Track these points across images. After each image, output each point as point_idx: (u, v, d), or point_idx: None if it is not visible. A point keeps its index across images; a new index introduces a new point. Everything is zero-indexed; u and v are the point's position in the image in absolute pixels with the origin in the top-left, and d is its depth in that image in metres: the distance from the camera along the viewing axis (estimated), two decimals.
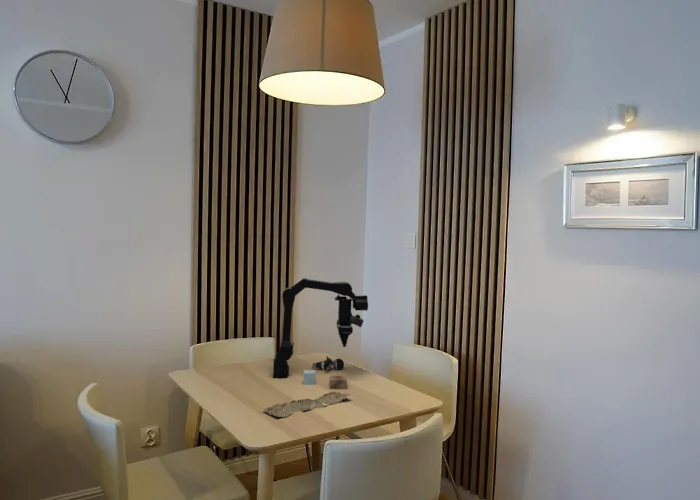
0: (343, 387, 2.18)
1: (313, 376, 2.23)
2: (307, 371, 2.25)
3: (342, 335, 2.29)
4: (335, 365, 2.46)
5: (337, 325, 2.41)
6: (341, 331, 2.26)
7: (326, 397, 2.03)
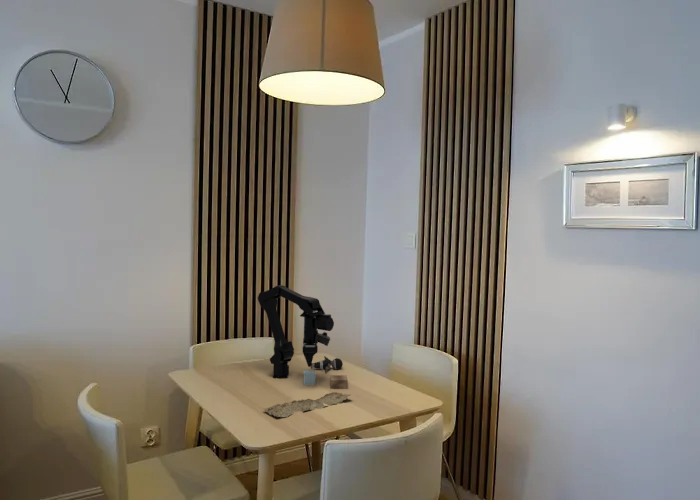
0: (344, 387, 2.18)
1: (313, 376, 2.23)
2: (307, 371, 2.25)
3: (307, 354, 2.18)
4: (334, 365, 2.46)
5: (303, 343, 2.30)
6: (305, 351, 2.15)
7: (327, 397, 2.03)
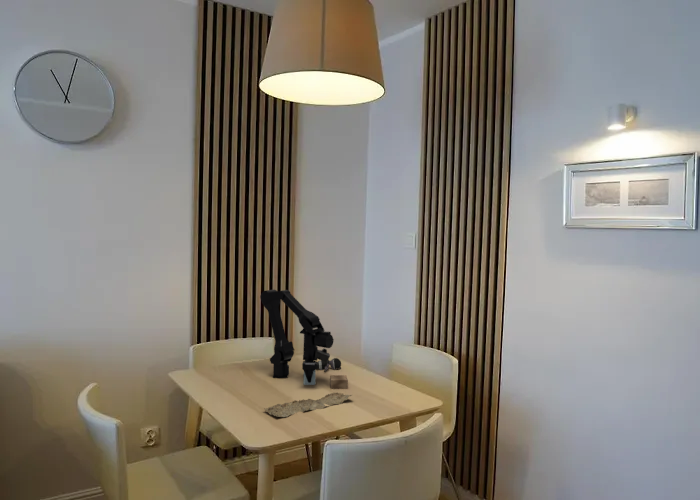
0: (344, 387, 2.18)
1: (313, 376, 2.23)
2: None
3: (307, 370, 2.21)
4: (333, 365, 2.46)
5: None
6: (305, 368, 2.15)
7: (328, 398, 2.02)
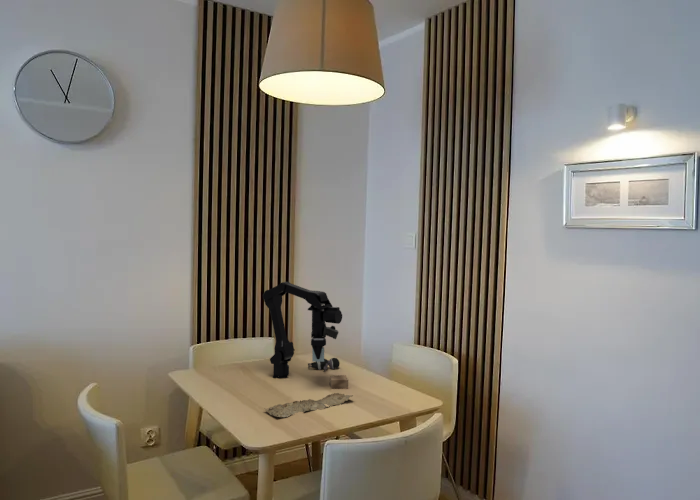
0: (344, 387, 2.18)
1: (322, 352, 2.21)
2: None
3: (315, 347, 2.19)
4: (331, 364, 2.47)
5: (311, 337, 2.29)
6: (314, 344, 2.14)
7: (329, 398, 2.02)
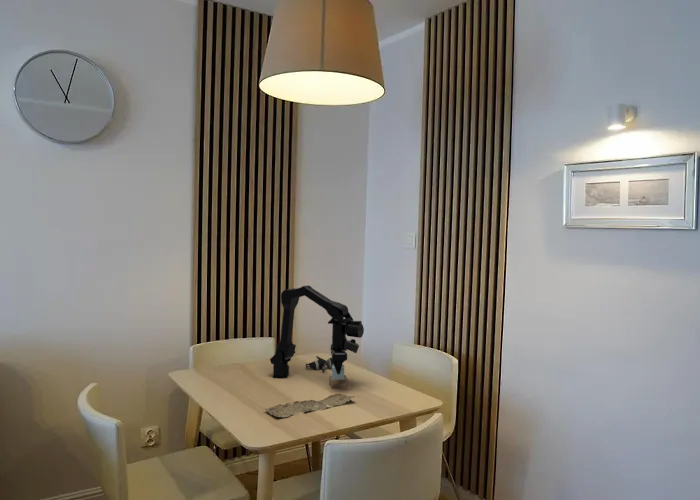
0: (345, 387, 2.18)
1: (342, 371, 2.18)
2: None
3: (336, 362, 2.15)
4: (329, 364, 2.47)
5: (331, 350, 2.26)
6: (335, 358, 2.11)
7: (330, 399, 2.01)
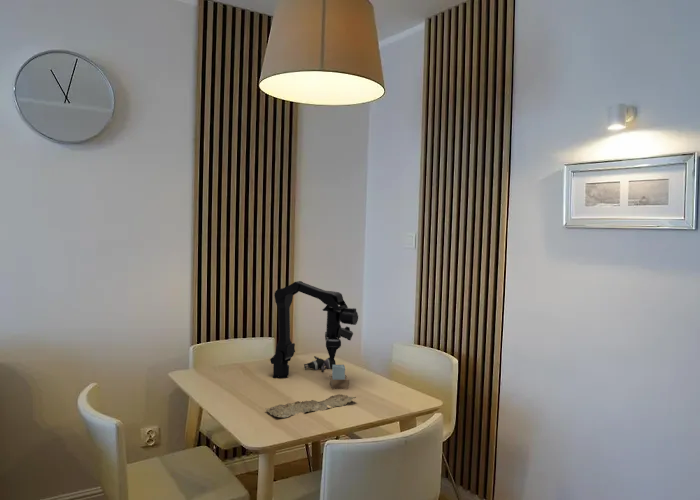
0: (345, 387, 2.18)
1: (342, 370, 2.19)
2: (336, 365, 2.21)
3: (330, 349, 2.16)
4: (328, 364, 2.47)
5: (325, 337, 2.28)
6: (329, 345, 2.13)
7: (332, 399, 2.01)
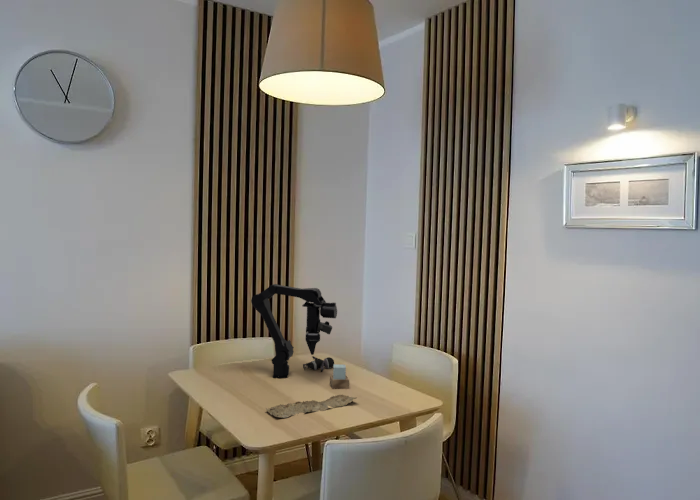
0: (345, 387, 2.19)
1: (343, 370, 2.19)
2: (337, 365, 2.21)
3: (310, 343, 2.24)
4: (327, 364, 2.47)
5: (306, 332, 2.36)
6: (308, 339, 2.21)
7: (332, 400, 2.00)
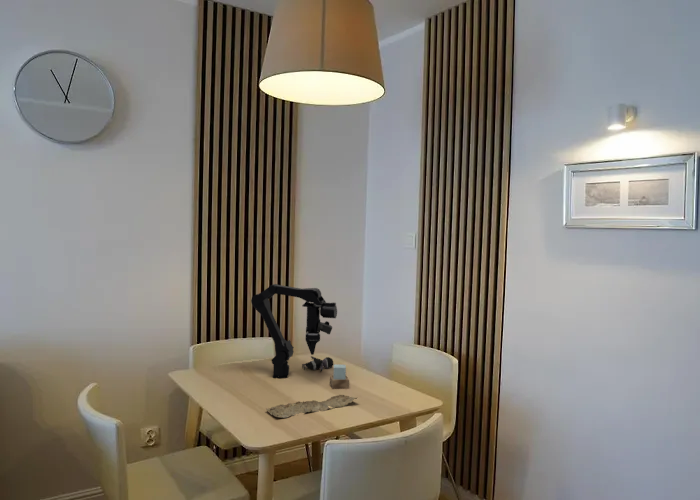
0: (345, 387, 2.19)
1: (343, 370, 2.19)
2: (337, 365, 2.22)
3: (310, 343, 2.24)
4: (326, 364, 2.47)
5: (306, 332, 2.36)
6: (308, 339, 2.21)
7: (333, 400, 2.00)
